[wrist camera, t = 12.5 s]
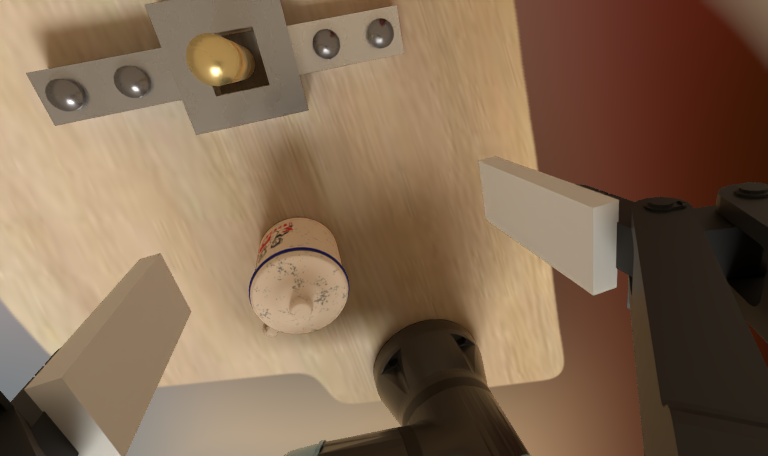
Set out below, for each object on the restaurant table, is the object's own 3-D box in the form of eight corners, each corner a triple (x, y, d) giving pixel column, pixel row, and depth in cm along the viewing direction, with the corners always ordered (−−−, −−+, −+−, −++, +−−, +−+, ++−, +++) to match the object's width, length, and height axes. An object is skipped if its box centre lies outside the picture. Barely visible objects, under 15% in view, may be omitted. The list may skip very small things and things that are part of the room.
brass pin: (259, 77, 35) (245, 81, 24) (226, 83, 34) (197, 90, 24) (248, 41, 33) (228, 28, 23) (214, 47, 33) (177, 37, 22)
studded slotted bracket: (404, 86, 38) (415, 87, 35) (91, 154, 34) (70, 163, 31) (387, -31, 34) (397, -41, 30) (27, 32, 30) (-5, 28, 27)
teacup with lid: (279, 200, 40) (275, 247, 29) (353, 234, 43) (373, 288, 33) (231, 289, 42) (212, 362, 32) (304, 315, 46) (308, 388, 35)
